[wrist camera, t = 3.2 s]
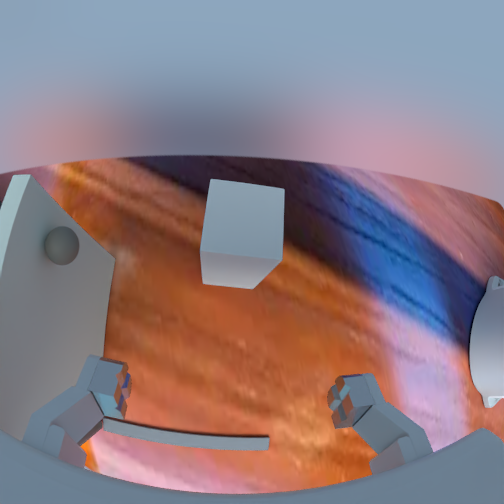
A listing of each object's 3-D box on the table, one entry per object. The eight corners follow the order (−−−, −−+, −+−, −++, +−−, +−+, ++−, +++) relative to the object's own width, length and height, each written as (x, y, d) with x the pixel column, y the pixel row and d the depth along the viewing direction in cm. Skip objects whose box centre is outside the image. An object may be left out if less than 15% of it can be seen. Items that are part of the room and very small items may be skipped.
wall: (268, 437, 19) (344, 537, 5) (267, 448, 18) (337, 553, 5) (20, 386, 16) (-87, 400, 2) (21, 398, 15) (-83, 418, 2)
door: (84, 254, 20) (-9, 176, 8) (135, 261, 21) (61, 174, 8) (71, 421, 16) (-23, 472, 3) (122, 436, 16) (50, 519, 4)
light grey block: (256, 241, 23) (284, 188, 15) (252, 289, 22) (282, 260, 13) (208, 236, 23) (210, 178, 14) (202, 283, 21) (199, 250, 13)
